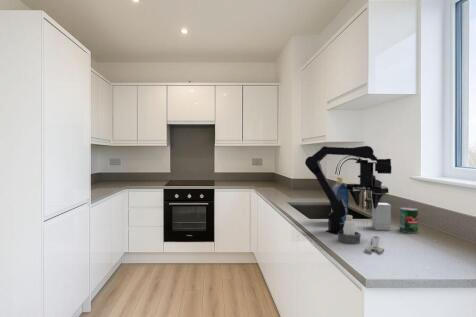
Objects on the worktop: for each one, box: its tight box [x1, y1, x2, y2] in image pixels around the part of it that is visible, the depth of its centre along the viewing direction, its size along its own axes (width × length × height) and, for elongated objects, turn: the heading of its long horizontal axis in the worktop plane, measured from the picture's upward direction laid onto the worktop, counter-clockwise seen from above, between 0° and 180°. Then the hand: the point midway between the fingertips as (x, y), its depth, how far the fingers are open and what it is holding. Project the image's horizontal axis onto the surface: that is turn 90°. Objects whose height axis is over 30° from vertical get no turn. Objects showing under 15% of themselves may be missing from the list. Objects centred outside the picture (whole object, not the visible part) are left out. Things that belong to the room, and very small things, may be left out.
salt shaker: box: [343, 214, 356, 235], centre depth 133 cm, size 5×5×11 cm
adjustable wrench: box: [364, 235, 385, 255], centre depth 126 cm, size 25×6×2 cm, turn 150°
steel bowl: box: [337, 229, 361, 245], centre depth 133 cm, size 9×9×4 cm
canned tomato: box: [399, 206, 419, 234], centre depth 152 cm, size 8×8×11 cm
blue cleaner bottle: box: [330, 176, 349, 228], centre depth 166 cm, size 6×12×25 cm, turn 175°
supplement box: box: [371, 202, 392, 231], centre depth 157 cm, size 7×7×13 cm
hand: (366, 207), depth 143 cm, fingers open, 9 cm apart
